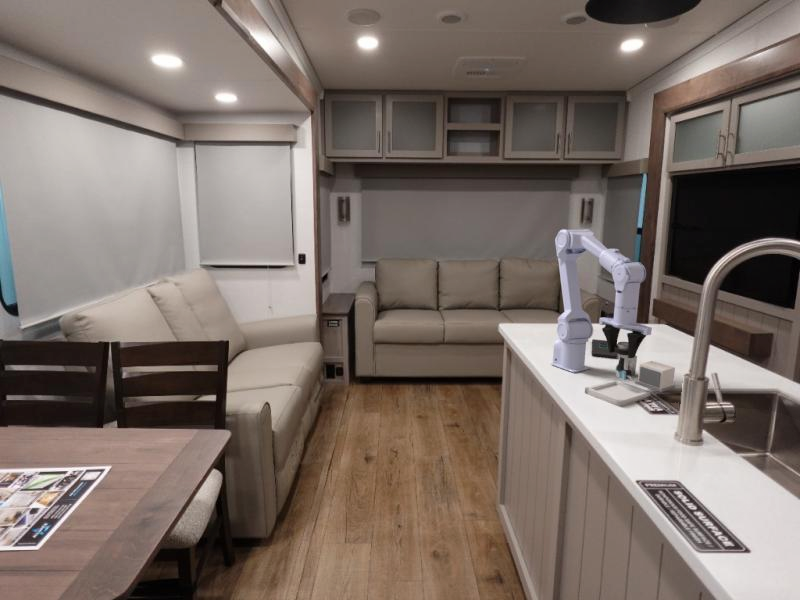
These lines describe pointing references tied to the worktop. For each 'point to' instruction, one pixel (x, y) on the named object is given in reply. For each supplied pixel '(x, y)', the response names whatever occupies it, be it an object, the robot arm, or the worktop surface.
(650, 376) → the panel
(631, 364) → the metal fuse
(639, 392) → the tray
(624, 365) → the push button
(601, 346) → the smart home device
